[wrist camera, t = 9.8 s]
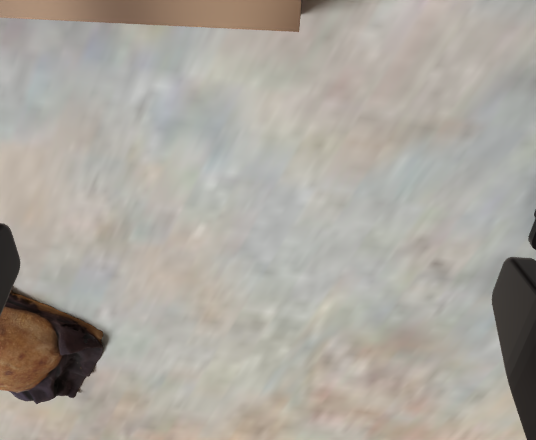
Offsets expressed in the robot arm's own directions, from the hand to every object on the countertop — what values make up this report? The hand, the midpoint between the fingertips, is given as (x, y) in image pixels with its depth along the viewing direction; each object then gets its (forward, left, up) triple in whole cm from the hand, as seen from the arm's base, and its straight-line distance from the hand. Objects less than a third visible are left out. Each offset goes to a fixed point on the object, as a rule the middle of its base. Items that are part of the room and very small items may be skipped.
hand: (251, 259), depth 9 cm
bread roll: (+16, +18, -14) cm, 28 cm away
